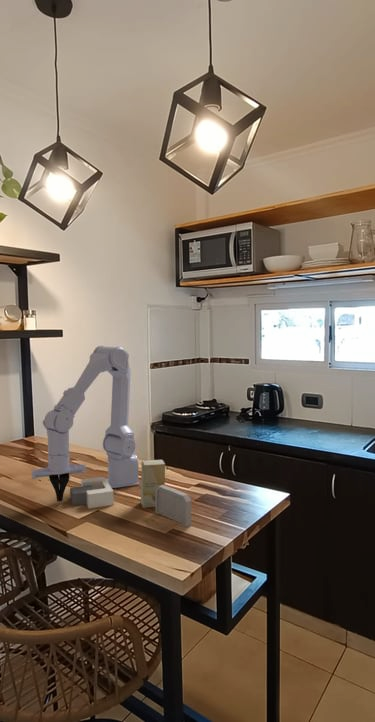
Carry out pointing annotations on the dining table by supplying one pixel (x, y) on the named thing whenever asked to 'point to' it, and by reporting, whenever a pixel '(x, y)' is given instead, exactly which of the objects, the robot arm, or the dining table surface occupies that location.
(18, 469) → the dining table surface
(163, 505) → the light switch
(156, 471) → the skincare box
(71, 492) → the plug
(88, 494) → the socket block
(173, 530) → the dining table surface
